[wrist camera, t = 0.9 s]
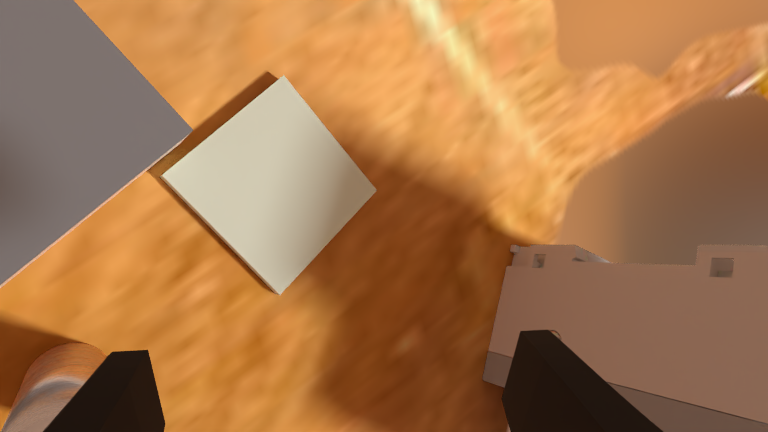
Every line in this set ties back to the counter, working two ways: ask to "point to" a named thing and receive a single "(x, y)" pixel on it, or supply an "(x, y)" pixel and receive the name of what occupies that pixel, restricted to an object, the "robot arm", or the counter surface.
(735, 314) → the circuit breaker
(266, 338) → the counter surface
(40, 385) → the shiny metal cylinder
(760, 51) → the counter surface
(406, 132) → the counter surface
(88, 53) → the box
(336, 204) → the pad
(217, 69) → the counter surface
